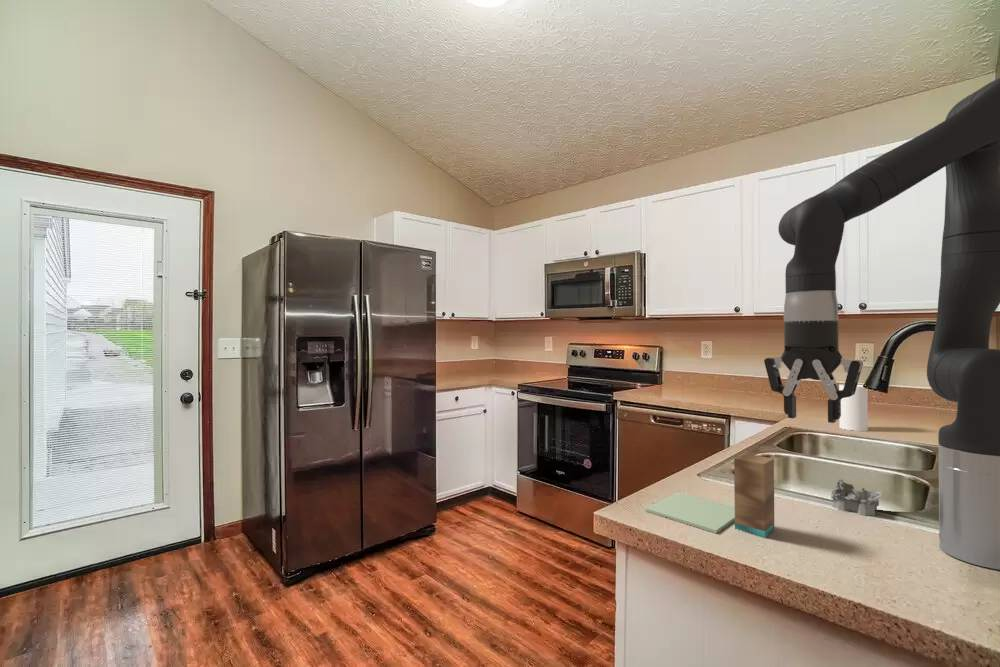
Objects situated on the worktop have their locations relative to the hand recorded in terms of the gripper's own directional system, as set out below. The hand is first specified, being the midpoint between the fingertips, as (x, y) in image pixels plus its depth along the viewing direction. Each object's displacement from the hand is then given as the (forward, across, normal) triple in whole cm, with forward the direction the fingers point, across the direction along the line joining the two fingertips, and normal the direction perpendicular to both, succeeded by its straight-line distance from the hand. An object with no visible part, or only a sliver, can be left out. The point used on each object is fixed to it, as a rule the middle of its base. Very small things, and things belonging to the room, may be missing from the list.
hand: (811, 419), depth 76 cm
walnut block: (+21, +9, 0) cm, 23 cm away
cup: (+22, +15, -117) cm, 120 cm away
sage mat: (+21, +20, 0) cm, 29 cm away
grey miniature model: (+22, -1, -27) cm, 35 cm away
